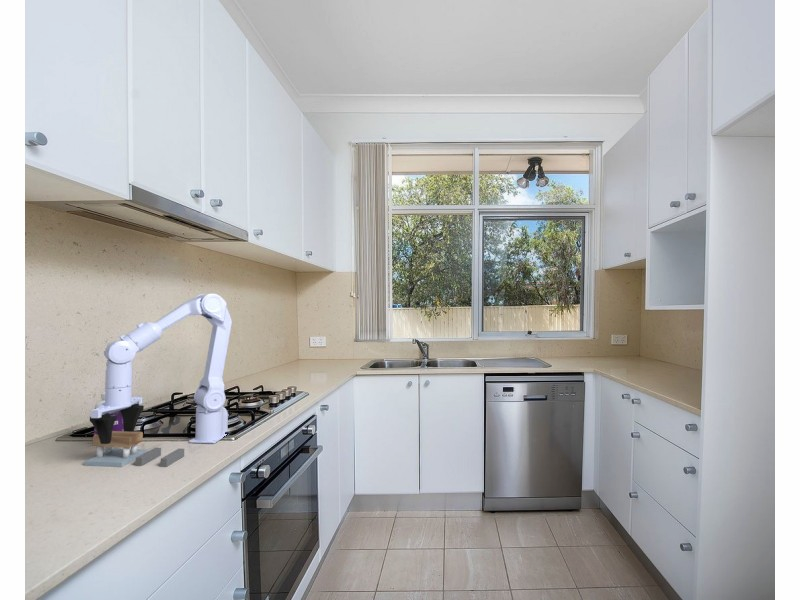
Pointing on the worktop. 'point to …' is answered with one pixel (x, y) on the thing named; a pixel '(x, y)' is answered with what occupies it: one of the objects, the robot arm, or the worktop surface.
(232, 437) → the worktop surface
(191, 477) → the worktop surface
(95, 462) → the peg base
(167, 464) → the board rack
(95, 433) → the pill bottle
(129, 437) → the shelf board
